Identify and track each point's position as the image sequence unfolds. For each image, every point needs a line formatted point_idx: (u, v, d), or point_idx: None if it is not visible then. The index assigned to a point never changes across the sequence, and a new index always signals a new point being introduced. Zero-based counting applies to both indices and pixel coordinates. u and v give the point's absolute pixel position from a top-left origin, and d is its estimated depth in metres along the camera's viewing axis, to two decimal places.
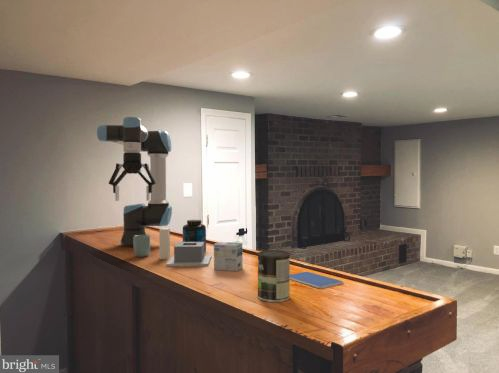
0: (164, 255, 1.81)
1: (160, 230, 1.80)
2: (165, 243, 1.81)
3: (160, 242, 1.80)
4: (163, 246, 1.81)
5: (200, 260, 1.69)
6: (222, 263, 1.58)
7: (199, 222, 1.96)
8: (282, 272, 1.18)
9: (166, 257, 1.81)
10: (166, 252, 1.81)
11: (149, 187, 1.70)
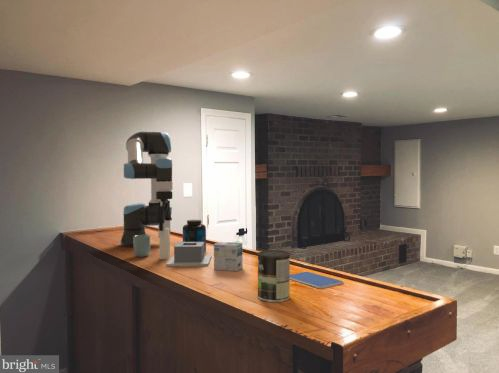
0: (164, 255, 1.81)
1: None
2: (165, 243, 1.81)
3: (160, 242, 1.80)
4: (163, 246, 1.81)
5: (200, 260, 1.69)
6: (222, 263, 1.58)
7: (199, 222, 1.96)
8: (282, 272, 1.18)
9: (166, 257, 1.81)
10: (166, 252, 1.81)
11: None
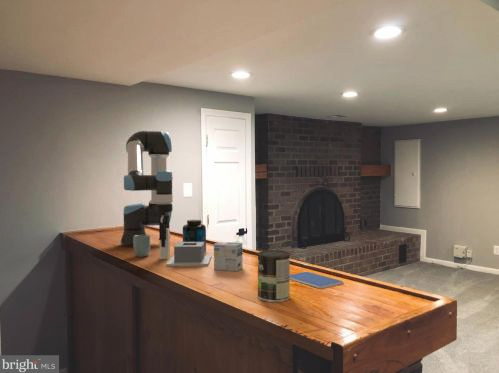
0: (164, 255, 1.81)
1: None
2: None
3: (160, 242, 1.80)
4: None
5: (200, 260, 1.69)
6: (222, 263, 1.58)
7: (199, 222, 1.96)
8: (282, 272, 1.18)
9: (166, 257, 1.81)
10: None
11: None
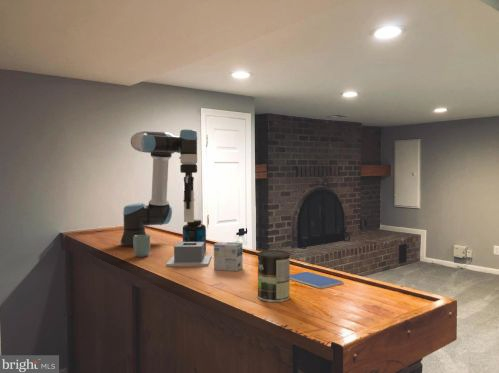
0: (189, 218, 1.72)
1: None
2: None
3: (184, 204, 1.72)
4: None
5: (200, 260, 1.69)
6: (222, 263, 1.58)
7: (199, 222, 1.96)
8: (282, 272, 1.18)
9: (191, 220, 1.72)
10: None
11: None
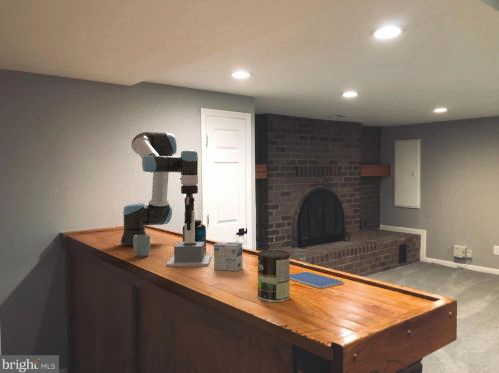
0: (189, 239, 1.73)
1: None
2: None
3: (185, 225, 1.72)
4: None
5: (200, 260, 1.69)
6: (222, 263, 1.58)
7: (199, 222, 1.96)
8: (282, 272, 1.18)
9: (191, 241, 1.73)
10: None
11: (187, 224, 1.71)
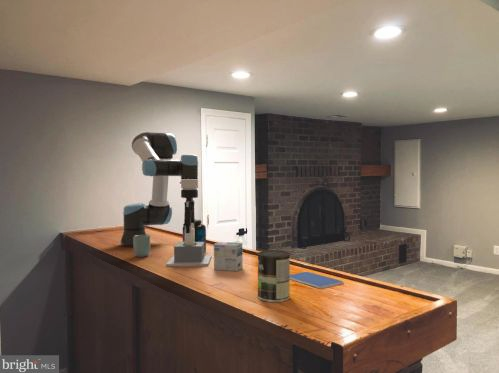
0: None
1: None
2: (190, 244, 1.73)
3: (185, 243, 1.73)
4: None
5: (200, 260, 1.69)
6: (222, 263, 1.58)
7: (199, 222, 1.96)
8: (282, 272, 1.18)
9: None
10: None
11: (186, 227, 1.69)
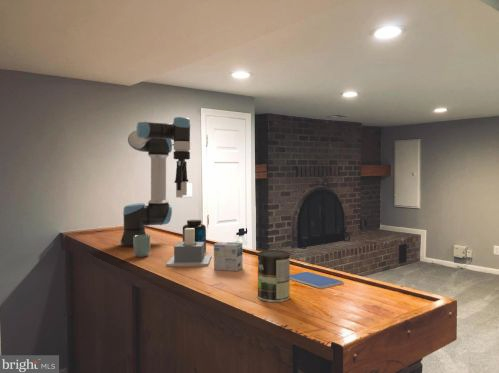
0: None
1: (185, 230, 1.73)
2: (190, 244, 1.73)
3: (185, 243, 1.73)
4: None
5: (200, 260, 1.69)
6: (222, 263, 1.58)
7: (199, 222, 1.96)
8: (282, 272, 1.18)
9: None
10: None
11: None
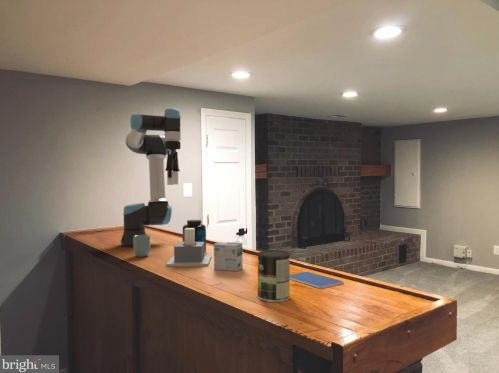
0: None
1: (185, 230, 1.73)
2: (190, 244, 1.73)
3: (185, 243, 1.73)
4: None
5: (200, 260, 1.69)
6: (222, 263, 1.58)
7: (199, 222, 1.96)
8: (282, 272, 1.18)
9: None
10: None
11: None
